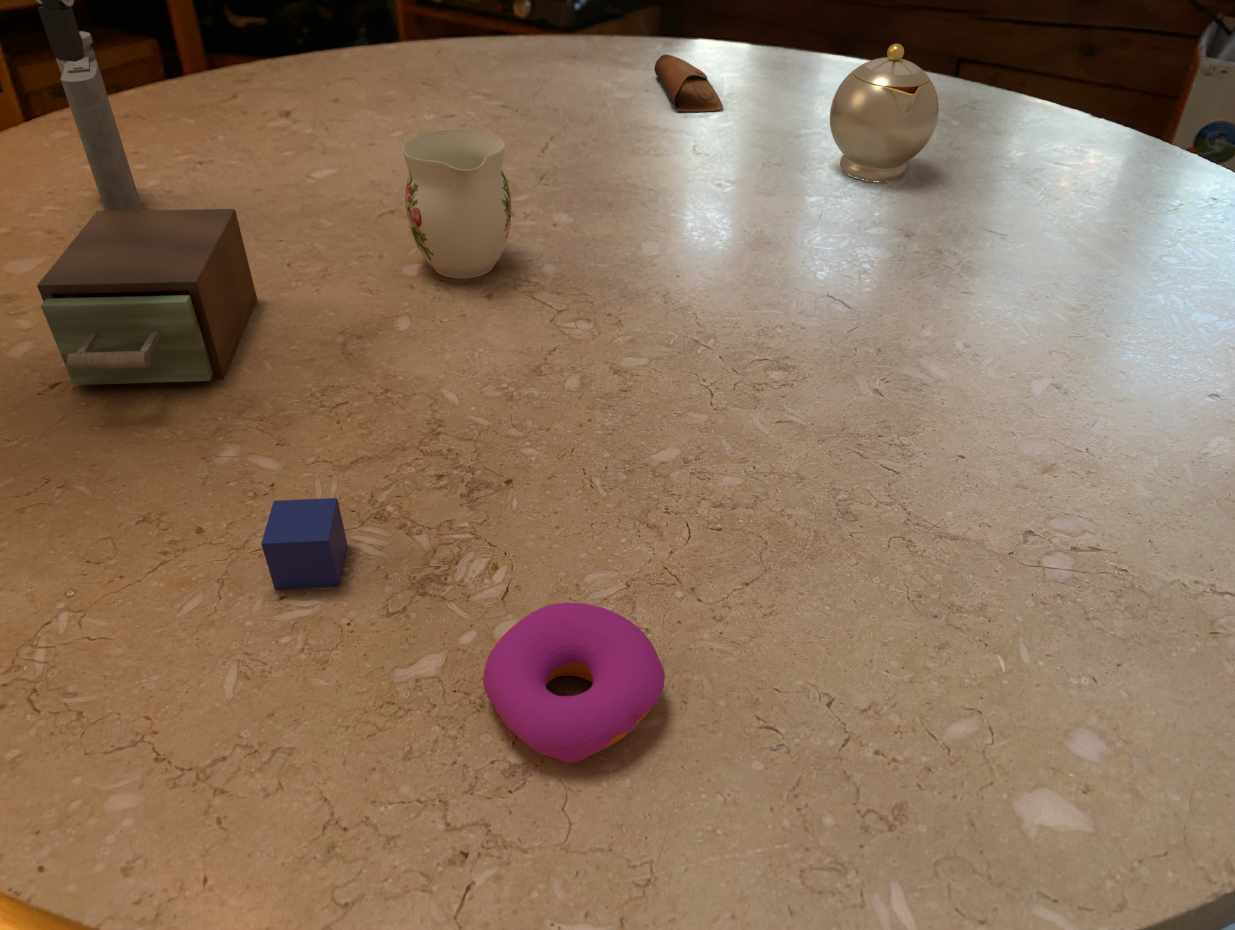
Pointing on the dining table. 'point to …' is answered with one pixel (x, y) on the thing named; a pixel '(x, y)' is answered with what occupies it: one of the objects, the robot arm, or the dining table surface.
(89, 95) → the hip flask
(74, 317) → the compartment
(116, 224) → the cabinet
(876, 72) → the teapot
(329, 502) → the navy blue cube
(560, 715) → the donut
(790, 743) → the dining table surface
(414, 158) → the pitcher
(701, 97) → the sunglasses case
